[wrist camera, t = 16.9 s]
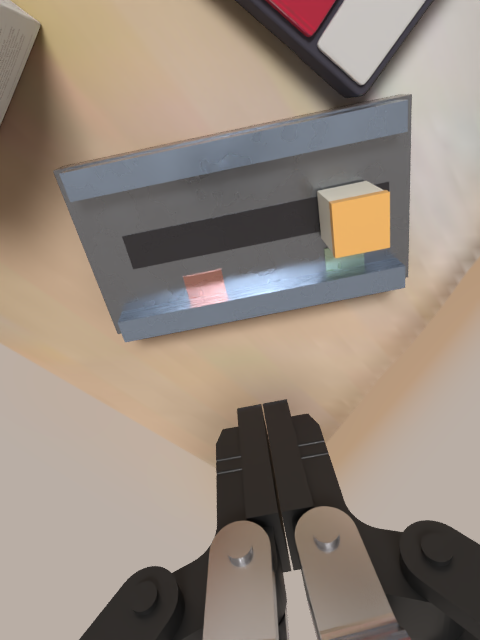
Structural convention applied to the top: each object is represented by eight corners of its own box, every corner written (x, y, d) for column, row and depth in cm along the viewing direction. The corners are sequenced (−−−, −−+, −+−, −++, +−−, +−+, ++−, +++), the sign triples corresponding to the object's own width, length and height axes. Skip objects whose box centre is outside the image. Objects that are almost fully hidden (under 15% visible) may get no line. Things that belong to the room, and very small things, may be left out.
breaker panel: (62, 166, 29) (43, 175, 25) (399, 94, 28) (424, 94, 24) (122, 322, 35) (113, 345, 32) (397, 267, 34) (418, 286, 31)
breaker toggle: (316, 190, 28) (331, 203, 25) (367, 179, 28) (389, 191, 24) (320, 239, 30) (335, 258, 26) (368, 229, 30) (390, 247, 26)
